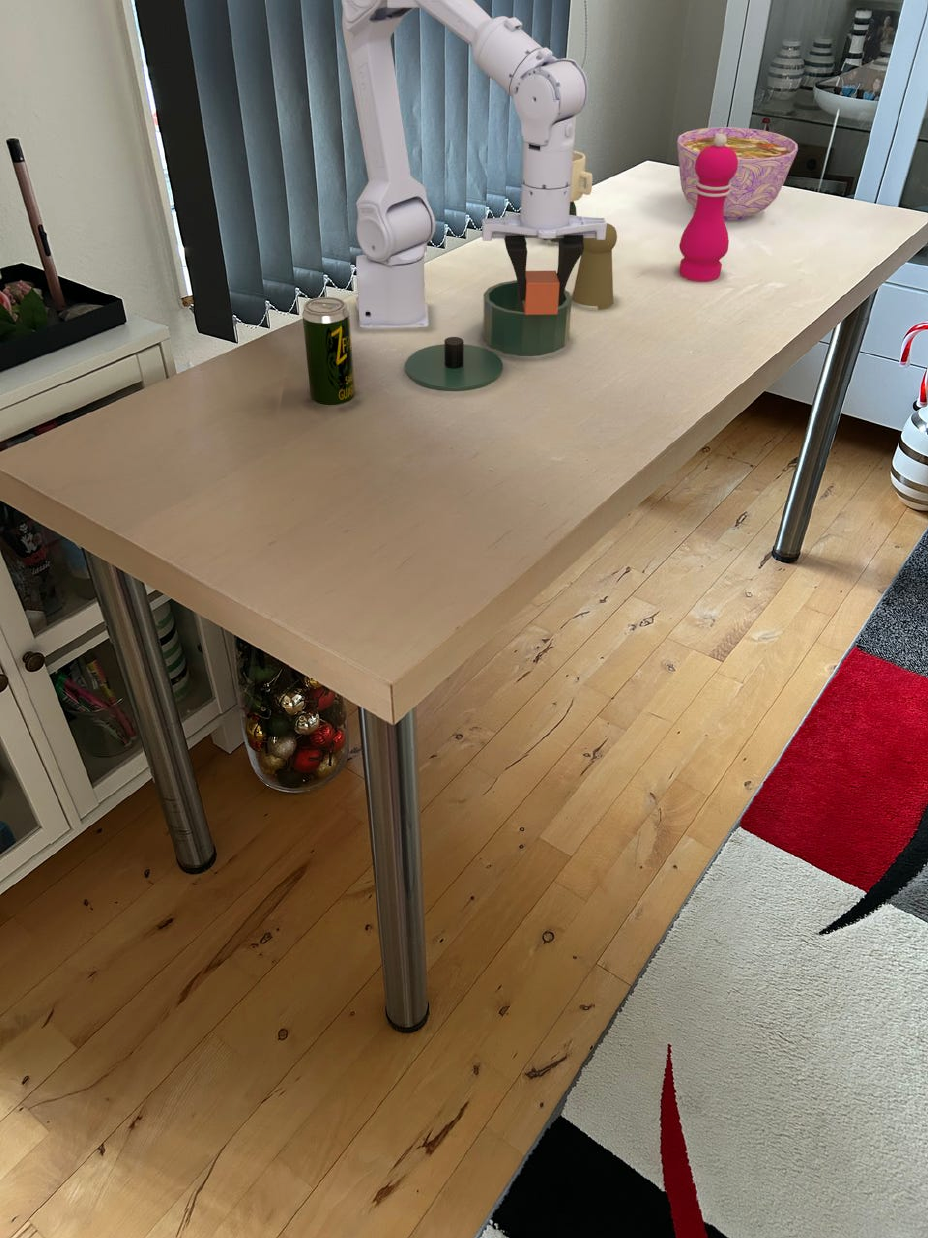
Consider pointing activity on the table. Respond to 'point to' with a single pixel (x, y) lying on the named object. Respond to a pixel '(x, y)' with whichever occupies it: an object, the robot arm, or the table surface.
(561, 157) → the robot arm
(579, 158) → the character mug
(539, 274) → the block
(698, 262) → the pepper mill
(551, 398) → the table surface
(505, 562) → the table surface
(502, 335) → the pot
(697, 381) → the table surface
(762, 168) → the bowl of food
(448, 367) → the lid
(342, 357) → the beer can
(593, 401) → the table surface
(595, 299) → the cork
